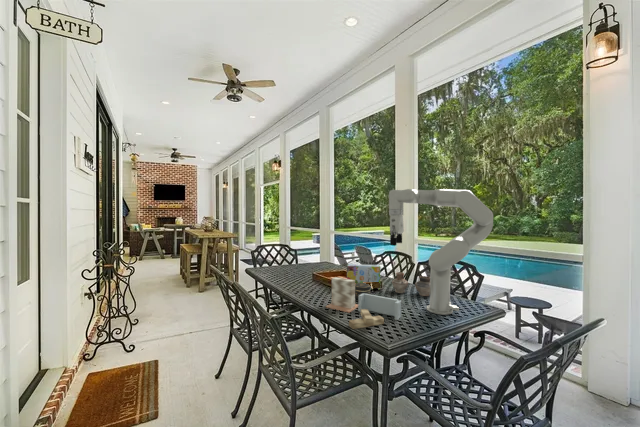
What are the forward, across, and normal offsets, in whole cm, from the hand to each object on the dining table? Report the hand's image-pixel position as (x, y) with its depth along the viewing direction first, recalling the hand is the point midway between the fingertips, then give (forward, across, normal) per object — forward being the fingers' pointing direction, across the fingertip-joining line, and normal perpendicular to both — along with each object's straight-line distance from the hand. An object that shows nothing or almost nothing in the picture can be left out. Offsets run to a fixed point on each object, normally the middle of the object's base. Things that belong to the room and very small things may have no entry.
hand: (396, 244), depth 165 cm
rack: (+33, -19, +2) cm, 38 cm away
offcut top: (+30, -35, +2) cm, 46 cm away
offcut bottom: (+33, -35, +2) cm, 48 cm away
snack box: (+33, +18, +28) cm, 47 cm away
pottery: (+33, +24, -2) cm, 41 cm away
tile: (+32, -20, +22) cm, 44 cm away
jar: (+33, -1, +20) cm, 39 cm away
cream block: (+32, -20, +22) cm, 44 cm away
